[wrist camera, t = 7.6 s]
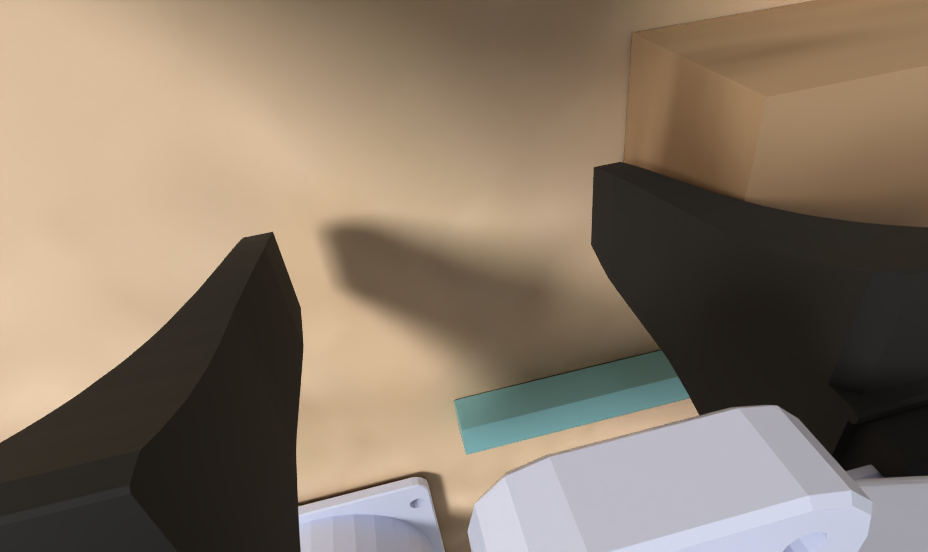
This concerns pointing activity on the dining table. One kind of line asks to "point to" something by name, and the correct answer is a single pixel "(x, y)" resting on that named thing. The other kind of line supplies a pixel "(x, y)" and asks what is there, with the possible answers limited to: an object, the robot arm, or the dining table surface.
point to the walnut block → (791, 108)
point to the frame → (567, 401)
